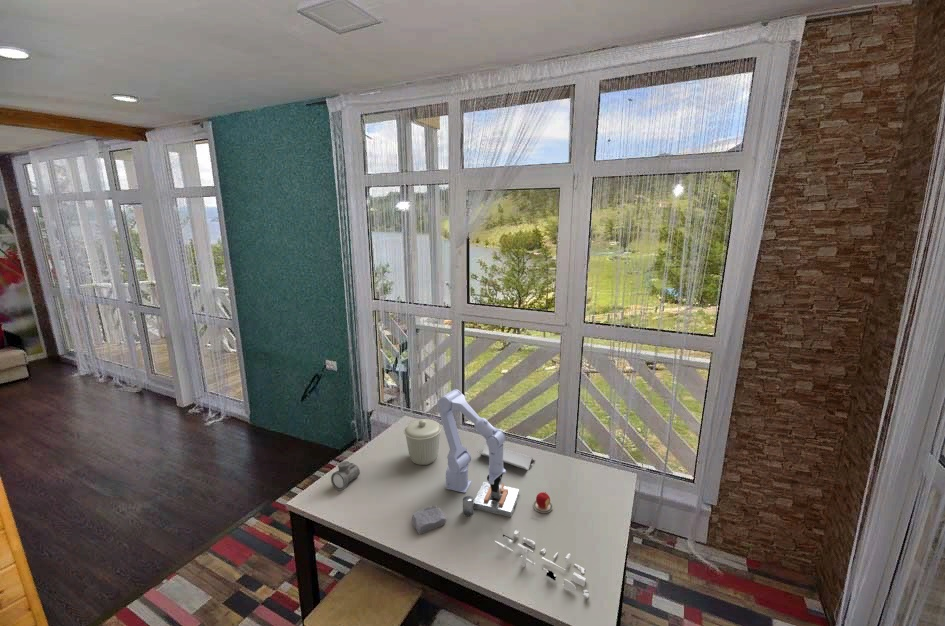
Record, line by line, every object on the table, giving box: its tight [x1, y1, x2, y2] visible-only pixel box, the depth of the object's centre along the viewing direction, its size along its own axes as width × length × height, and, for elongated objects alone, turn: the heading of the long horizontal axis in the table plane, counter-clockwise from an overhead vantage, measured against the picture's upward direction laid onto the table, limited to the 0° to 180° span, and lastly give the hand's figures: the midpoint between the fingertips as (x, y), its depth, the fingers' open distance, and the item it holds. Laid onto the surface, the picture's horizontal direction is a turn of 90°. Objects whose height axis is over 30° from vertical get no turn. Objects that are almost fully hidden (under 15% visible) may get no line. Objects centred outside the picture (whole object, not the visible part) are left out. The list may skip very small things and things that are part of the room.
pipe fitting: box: [330, 460, 361, 491], centre depth 183 cm, size 12×8×10 cm
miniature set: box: [494, 528, 590, 599], centre depth 142 cm, size 6×35×12 cm
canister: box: [403, 418, 443, 466], centre depth 198 cm, size 18×18×21 cm
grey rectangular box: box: [491, 475, 502, 497], centre depth 168 cm, size 3×3×8 cm
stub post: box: [462, 495, 475, 517], centre depth 164 cm, size 4×4×6 cm
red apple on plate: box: [532, 491, 554, 514], centre depth 167 cm, size 8×8×6 cm
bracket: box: [484, 482, 508, 506], centre depth 171 cm, size 8×12×1 cm, turn 161°
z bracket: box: [477, 442, 536, 471], centre depth 199 cm, size 12×25×6 cm
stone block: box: [411, 505, 447, 535], centre depth 160 cm, size 12×5×10 cm
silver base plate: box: [474, 481, 520, 518], centre depth 171 cm, size 16×14×2 cm
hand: (496, 488), depth 169 cm, fingers closed on grey rectangular box, 3 cm apart
